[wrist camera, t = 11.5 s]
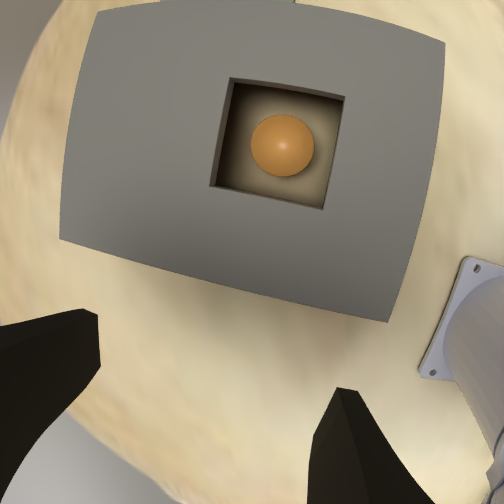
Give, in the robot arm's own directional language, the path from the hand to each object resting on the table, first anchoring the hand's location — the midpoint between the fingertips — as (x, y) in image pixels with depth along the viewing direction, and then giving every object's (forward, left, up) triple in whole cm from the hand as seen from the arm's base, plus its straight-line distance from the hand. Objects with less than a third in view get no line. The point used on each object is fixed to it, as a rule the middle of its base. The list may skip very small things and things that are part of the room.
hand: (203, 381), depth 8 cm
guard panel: (+2, -7, -10) cm, 12 cm away
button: (0, -7, -9) cm, 11 cm away
